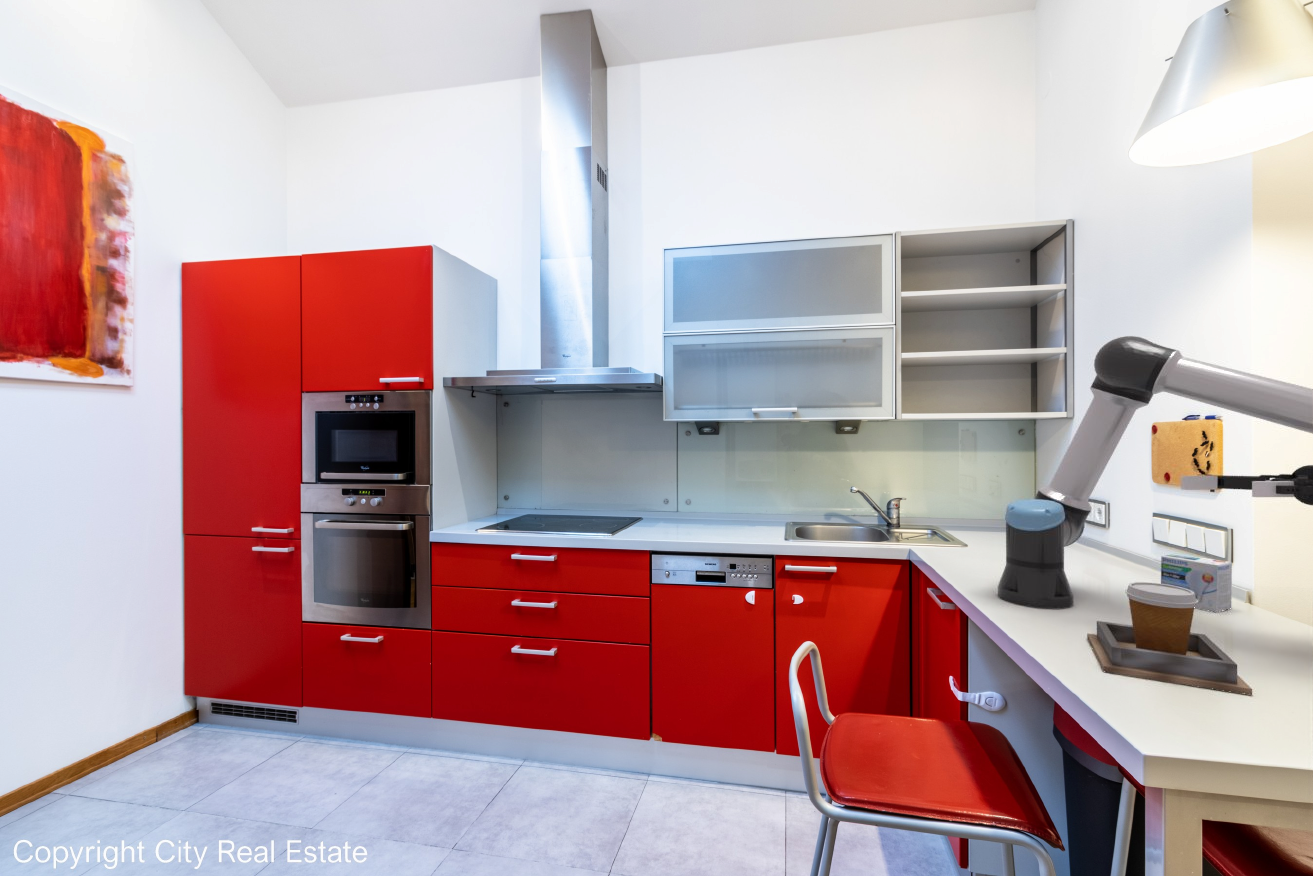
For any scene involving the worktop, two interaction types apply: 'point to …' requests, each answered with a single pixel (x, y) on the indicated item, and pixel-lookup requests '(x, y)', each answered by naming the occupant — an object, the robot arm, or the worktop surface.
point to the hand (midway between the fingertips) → (1216, 485)
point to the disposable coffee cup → (1161, 616)
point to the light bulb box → (1200, 579)
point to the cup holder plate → (1166, 660)
